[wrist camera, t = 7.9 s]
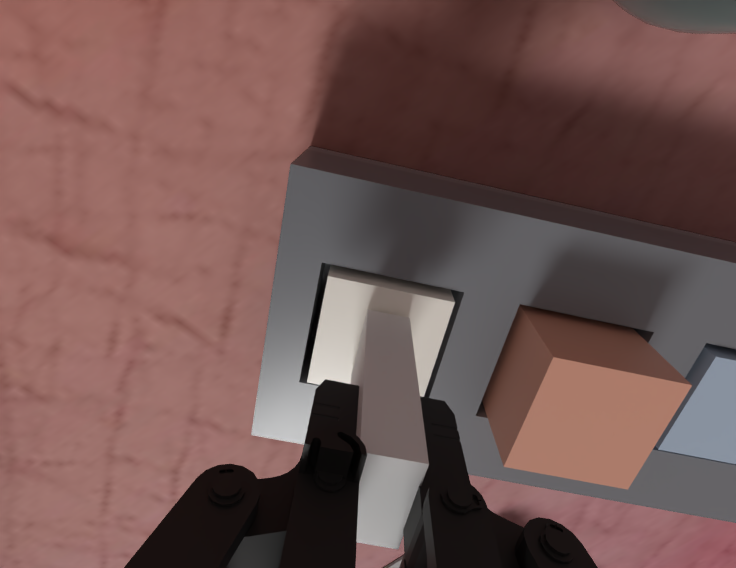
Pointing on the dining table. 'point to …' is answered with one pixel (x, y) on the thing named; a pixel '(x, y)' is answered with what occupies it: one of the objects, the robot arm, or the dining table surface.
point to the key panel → (495, 299)
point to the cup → (685, 14)
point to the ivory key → (383, 294)
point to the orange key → (579, 398)
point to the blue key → (706, 409)
